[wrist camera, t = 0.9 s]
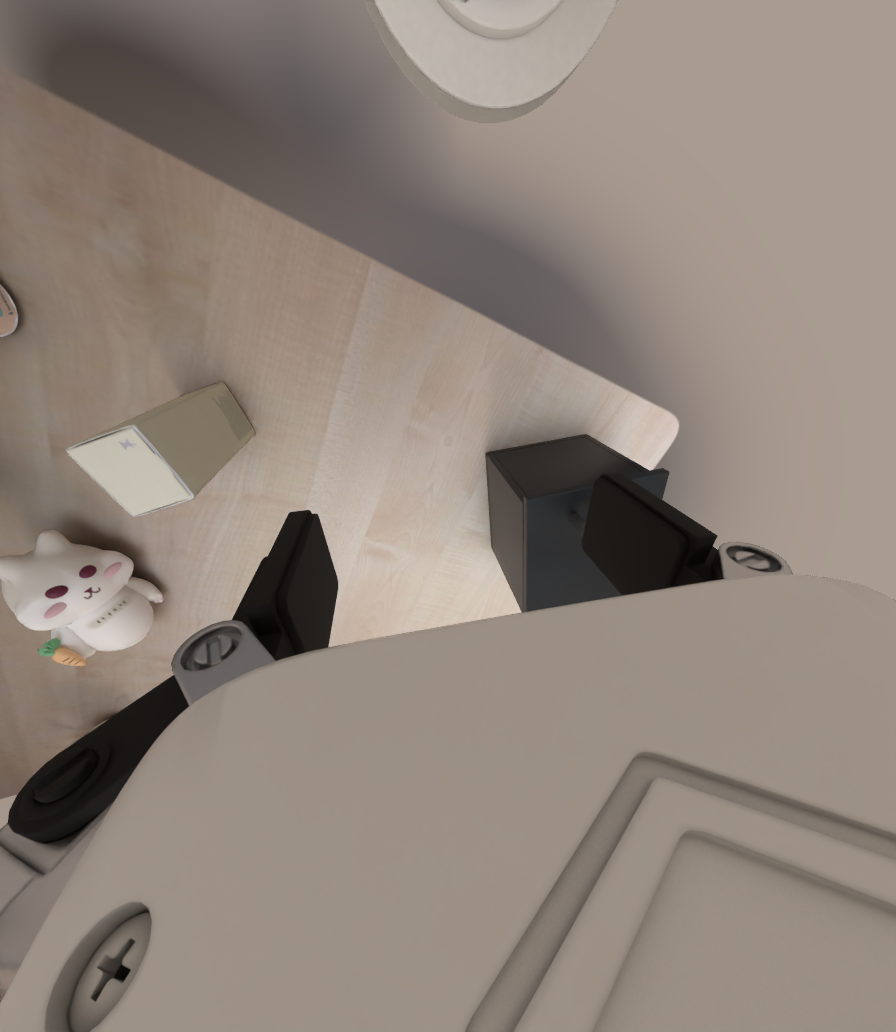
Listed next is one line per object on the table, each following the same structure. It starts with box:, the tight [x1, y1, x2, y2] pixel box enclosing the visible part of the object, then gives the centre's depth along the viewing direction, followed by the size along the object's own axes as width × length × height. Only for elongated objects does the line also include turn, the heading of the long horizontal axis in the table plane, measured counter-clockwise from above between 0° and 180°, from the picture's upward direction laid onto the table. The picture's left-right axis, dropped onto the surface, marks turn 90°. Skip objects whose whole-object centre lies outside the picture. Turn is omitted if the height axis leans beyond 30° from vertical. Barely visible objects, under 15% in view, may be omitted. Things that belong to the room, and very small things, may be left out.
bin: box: [485, 434, 649, 613], centre depth 35 cm, size 13×12×12 cm
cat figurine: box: [0, 530, 164, 666], centre depth 33 cm, size 10×8×15 cm
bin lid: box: [523, 468, 669, 612], centre depth 28 cm, size 14×12×5 cm
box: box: [66, 382, 255, 517], centre depth 25 cm, size 5×4×13 cm
